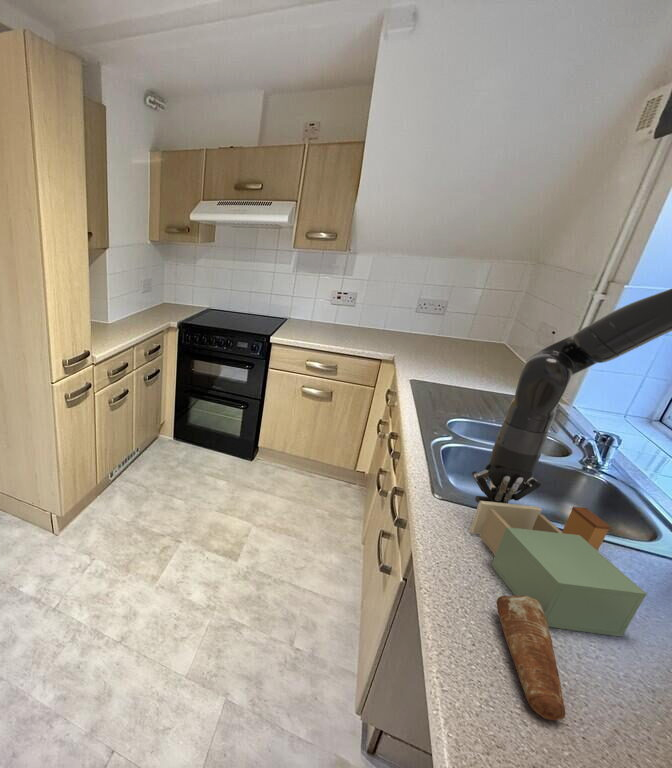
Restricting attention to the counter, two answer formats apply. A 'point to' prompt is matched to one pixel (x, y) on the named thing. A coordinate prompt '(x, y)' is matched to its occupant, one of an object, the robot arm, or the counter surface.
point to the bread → (532, 653)
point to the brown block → (586, 526)
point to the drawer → (506, 520)
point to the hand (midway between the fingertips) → (493, 512)
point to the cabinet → (568, 581)
